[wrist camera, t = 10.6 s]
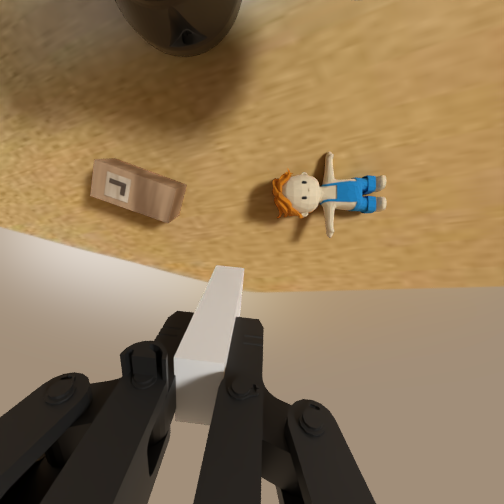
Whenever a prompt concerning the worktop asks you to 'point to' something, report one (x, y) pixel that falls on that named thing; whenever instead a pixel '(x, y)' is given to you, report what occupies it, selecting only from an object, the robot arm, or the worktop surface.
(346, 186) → the toy
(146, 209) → the block
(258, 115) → the worktop surface
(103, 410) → the robot arm
